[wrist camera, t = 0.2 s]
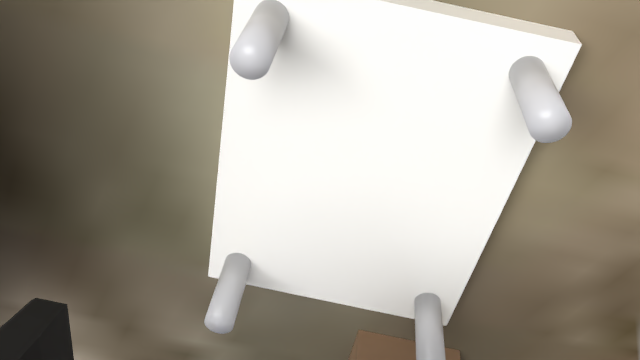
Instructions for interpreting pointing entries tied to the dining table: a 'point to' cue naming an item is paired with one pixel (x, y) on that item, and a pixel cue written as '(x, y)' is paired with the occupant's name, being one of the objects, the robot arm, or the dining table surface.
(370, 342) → the walnut block
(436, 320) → the standoff plate
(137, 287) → the dining table surface
